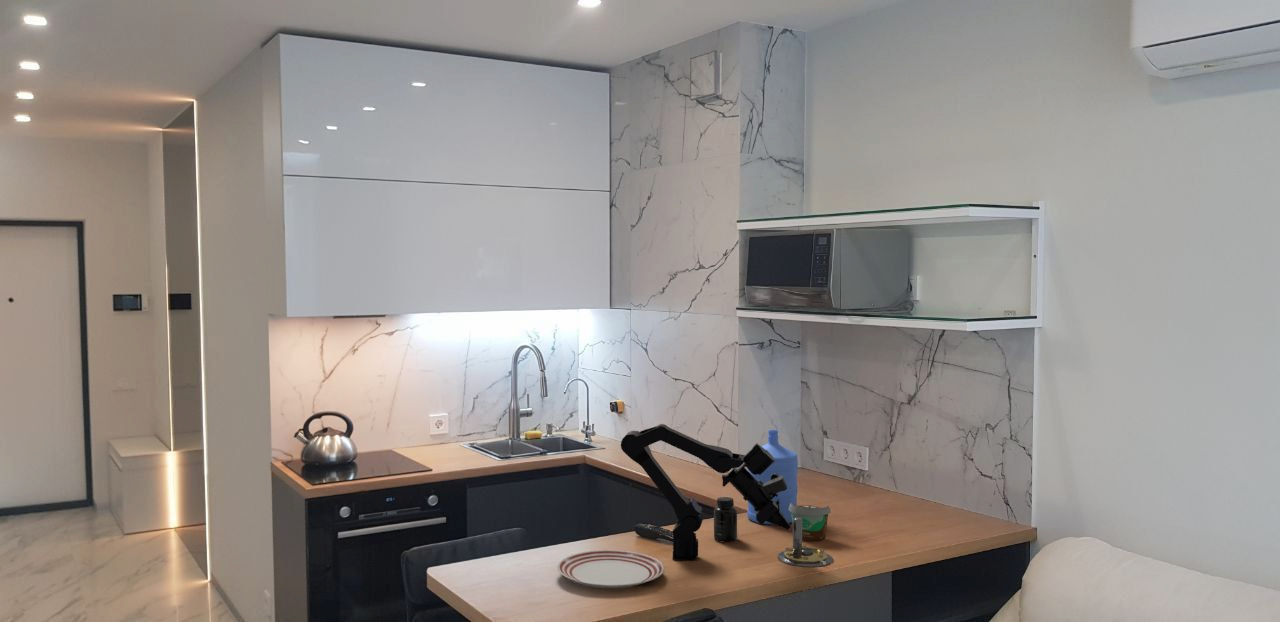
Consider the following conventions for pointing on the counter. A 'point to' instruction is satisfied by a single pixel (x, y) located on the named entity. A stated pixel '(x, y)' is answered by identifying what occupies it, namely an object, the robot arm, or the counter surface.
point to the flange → (805, 552)
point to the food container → (811, 521)
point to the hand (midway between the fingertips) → (789, 528)
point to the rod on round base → (796, 551)
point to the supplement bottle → (725, 520)
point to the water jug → (782, 466)
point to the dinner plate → (610, 568)
